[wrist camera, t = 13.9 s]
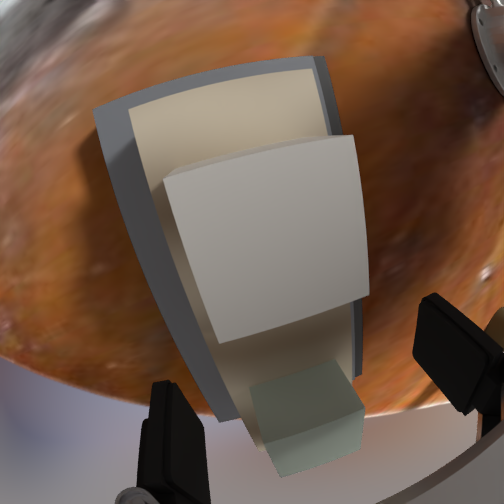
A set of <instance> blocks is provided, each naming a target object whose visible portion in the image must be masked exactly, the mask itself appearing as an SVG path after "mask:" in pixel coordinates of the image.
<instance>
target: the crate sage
mask: <svg viewBox="0 0 504 504" xmlns="http://www.w3.org/2000/svg"><path fill="white" fill-rule="evenodd" d="M249 389H250V393H251V397H252V401H253V405H254V409H255V413H256V417H257V421H258V425H259V429H260V433H261V436H262V440H263V444H264V446H265V448H266V450H267V452H268V454H269V456H270V458H271V460H272V462H273V464H274V466H275V468H276V470H277V472H278V474H279V476H280V477H284V476H288V475H292V474H295V473H298V472H301V471H304V470H308V469H310V468H313V467H316V466H319V465H322V464H325V463H327V462H330V461H333V460H336V459H338V458H340V457H343V456H346V455H348V454H350V453H353V452H355V451H357V450H360V447H361V440H362V433H363V424H364V415H365V406H364V405H363V403H362V401H361V400H360V398H359V397H358V395H357V393H356V392H355V390H354V388H353V387H352V385H351V384H350V382H349V380H348V379H347V377H346V376H345V374H344V372H343V371H342V369H341V368H340V366H339V364H338V363H337V361H336V360H335V359H333V360H330V361H328V362H325V363H322V364H320V365H317V366H314V367H311V368H309V369H306V370H303V371H300V372H297V373H294V374H291V375H288V376H285V377H282V378H279V379H275V380H272V381H269V382H265V383H262V384H259V385H255V386H252V387H249Z"/></svg>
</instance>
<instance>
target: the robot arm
mask: <svg viewBox="0 0 504 504" xmlns="http://www.w3.org/2000/svg"><path fill="white" fill-rule="evenodd" d="M490 1H491V3H492V5H491V7H492V8H491V7H489V6H487V5H478V6H475V7H474V8H473V9H472V13H471V24H472V31H473V35H474V39H475V42H476V45H477V48H478V51H479V54H480V56H481V59H482V61H483V63H484V66H485V68H486V70H487V72H488V74H489V76H490V78H491V80H492V81H493V83H494V85H495V86H496V88H497V89H498V90H499V92H500V93H501V94H502V95H503V96H504V0H490ZM412 353H413V357H414V359H415V360H416V361H417V363H418V364H419V365H420V366H421V367H422V368H423V370H424V371H425V372H426V373H427V374H428V376H429V377H430V378H431V379H432V380H433V382H434V383H435V384H436V385H437V386H438V388H439V389H440V390H441V391H442V392H443V394H444V395H445V396H446V397H447V399H448V400H449V401H450V402H451V404H452V405H453V406H454V407H455V409H456V410H457V411H459V412H462V413H463V414H464V415H465V416H466V415H467V414H469V413H470V412H471V411H473V410H474V409H476V410H477V411H478V424H477V436H476V443H475V444H474V445H473V446H471V447H470V448H469V449H467V450H466V451H465V452H463V453H462V454H461V455H459V456H458V457H456V458H455V459H453V460H452V461H451V462H449V463H448V464H446V465H445V466H443V467H442V468H440V469H438V470H437V471H435V472H434V473H432V474H431V475H429V476H427V477H426V478H424V479H422V480H421V481H419V482H417V483H415V484H414V485H412V486H410V487H408V488H406V489H405V490H402V491H401V492H399V493H397V494H395V495H393V496H391V497H389V498H386V499H385V500H382V501H380V502H378V503H376V504H504V353H503V348H502V347H501V346H500V345H499V344H498V343H497V342H496V341H494V340H493V339H492V338H491V337H490V336H489V335H488V334H486V333H485V332H484V331H483V330H482V329H481V328H479V327H478V326H477V325H476V324H475V323H474V322H472V321H471V320H470V319H469V318H468V317H466V316H465V315H464V314H463V313H461V312H460V311H459V310H458V309H457V308H455V307H454V306H453V305H452V304H450V303H449V302H448V301H447V300H445V299H444V298H443V297H441V296H440V295H439V294H437V293H432V294H430V295H428V296H426V297H424V298H422V300H421V303H420V304H419V310H418V318H417V326H416V333H415V339H414V345H413V351H412ZM115 504H211V499H210V490H209V481H208V470H207V458H206V447H205V432H204V427H203V424H202V422H201V421H200V419H199V418H198V416H197V415H196V413H195V412H194V410H193V409H192V407H191V406H190V404H189V403H188V401H187V400H186V398H185V397H184V395H183V393H182V392H181V390H180V389H179V387H178V385H177V384H176V383H171V381H170V380H165V381H160V382H154V383H153V385H152V391H151V399H150V408H149V417H148V419H145V420H144V421H143V423H142V428H141V438H140V447H139V458H138V471H137V485H136V487H131V488H127V489H125V490H123V491H122V492H121V493H119V494H118V496H117V498H116V500H115Z"/></svg>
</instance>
